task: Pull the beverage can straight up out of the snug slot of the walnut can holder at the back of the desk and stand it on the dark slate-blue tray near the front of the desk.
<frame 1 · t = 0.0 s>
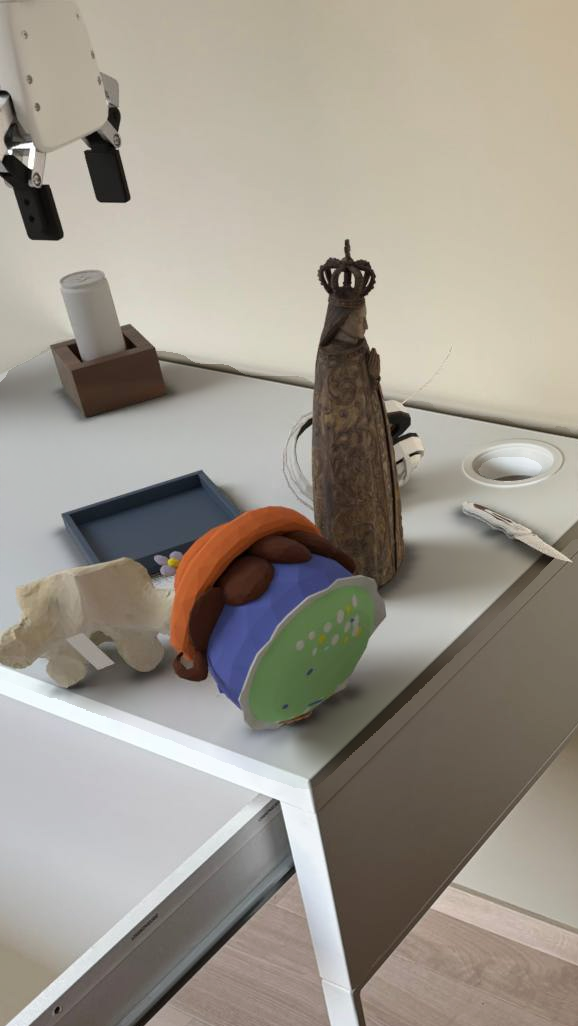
hand: (81, 219, 99), 22 cm above the table, tool pointing down, fingers open, 9 cm apart
can holder: (114, 392, 129), on the table
pocket knife: (504, 534, 97), point 1 cm above the table
beverage can: (115, 394, 129), resting in can holder
statue: (368, 572, 96), on the table, touching toy
headphones: (389, 482, 108), on the table
toy: (335, 669, 77), point 5 cm above the table, touching statue
tray: (158, 535, 104), on the table
decorative object: (44, 560, 87), point 8 cm above the table
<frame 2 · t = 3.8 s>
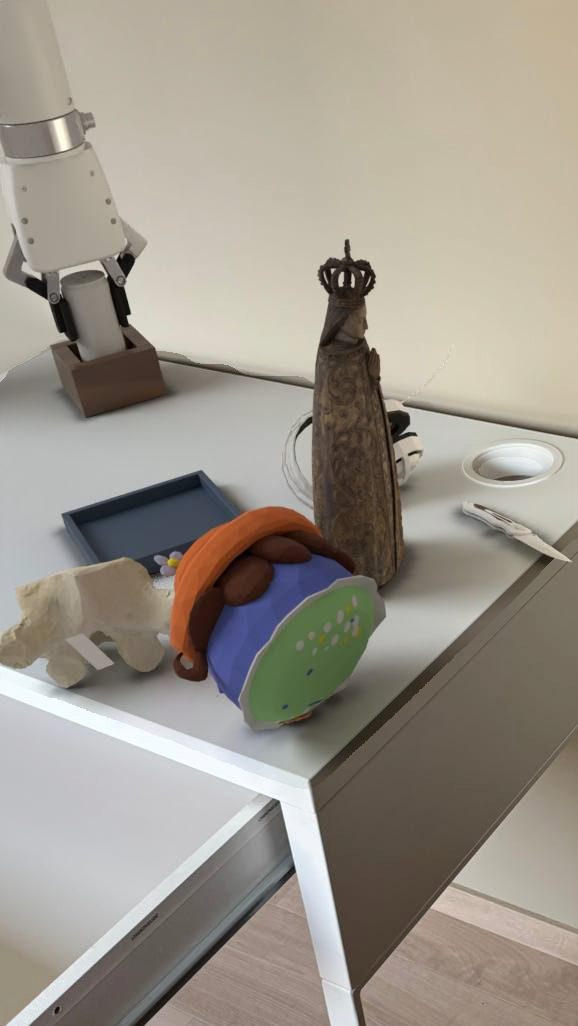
hand: (96, 329, 125), 7 cm above the table, tool pointing down, fingers closed on beverage can, 4 cm apart
beverage can: (115, 394, 129), resting in can holder, touching gripper
everything else where it was.
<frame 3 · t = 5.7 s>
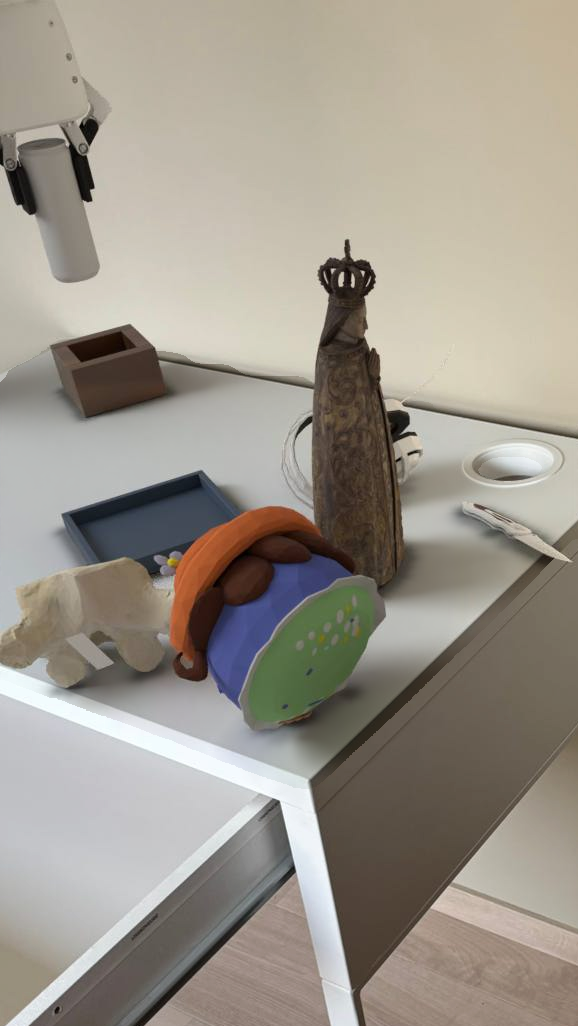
hand: (57, 203, 116), 19 cm above the table, tool pointing down, fingers closed on beverage can, 4 cm apart
beverage can: (78, 278, 121), point 12 cm above the table, touching gripper
everything else where it was.
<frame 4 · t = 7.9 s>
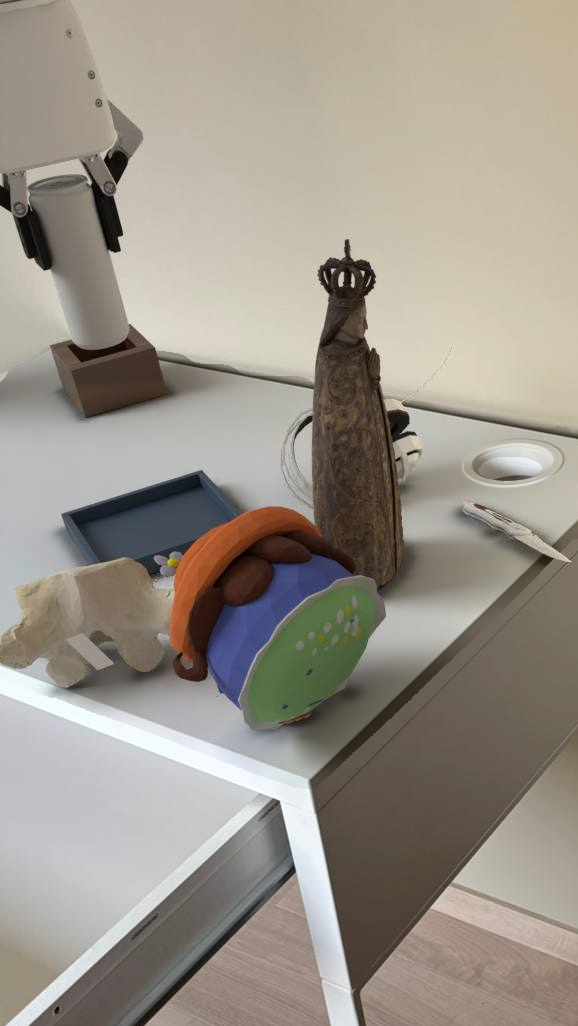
hand: (77, 254, 94), 22 cm above the table, tool pointing down, fingers closed on beverage can, 4 cm apart
beverage can: (103, 342, 99), point 15 cm above the table, touching gripper
everything else where it was.
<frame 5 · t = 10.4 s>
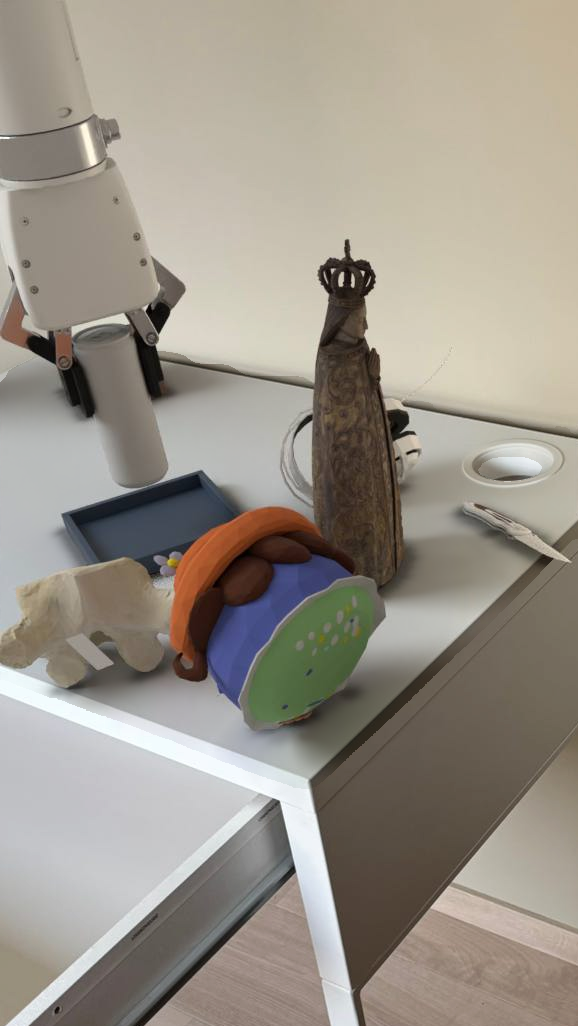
hand: (119, 399, 96), 12 cm above the table, tool pointing down, fingers closed on beverage can, 4 cm apart
beverage can: (142, 479, 101), point 5 cm above the table, touching gripper
everything else where it was.
when the fingers open (7 cm above the table, at t = 12.0 s): beverage can stays where it is, resting on tray.
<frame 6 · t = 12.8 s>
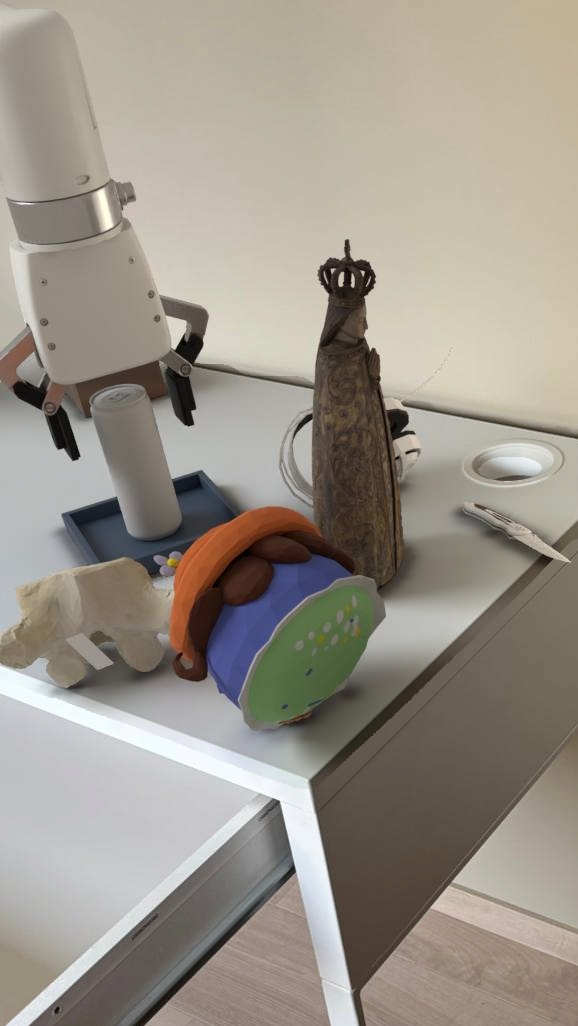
hand: (129, 437, 98), 9 cm above the table, tool pointing down, fingers open, 9 cm apart
beverage can: (156, 531, 104), resting on tray
everything else where it was.
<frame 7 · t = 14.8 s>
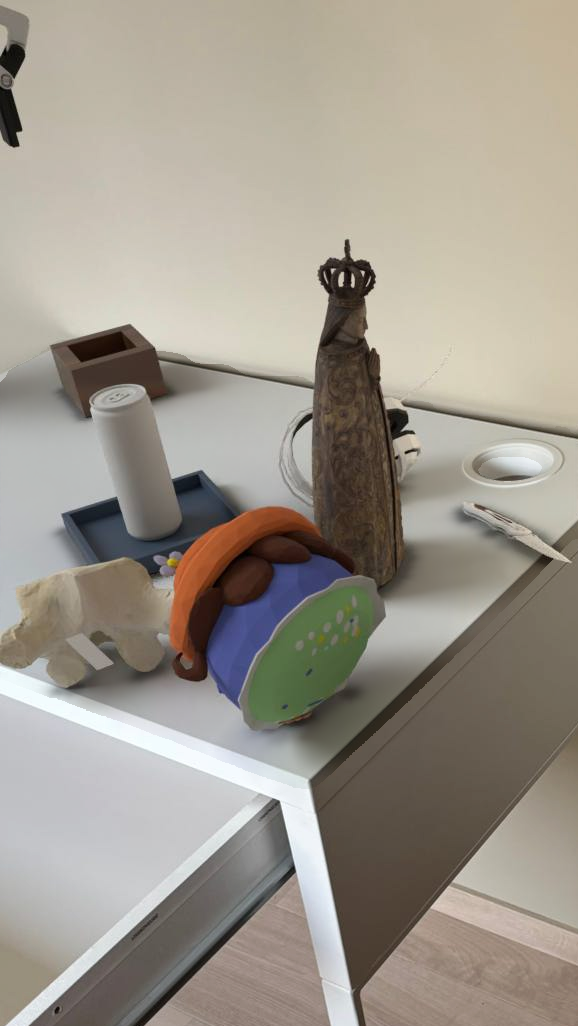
nothing on the table moved.
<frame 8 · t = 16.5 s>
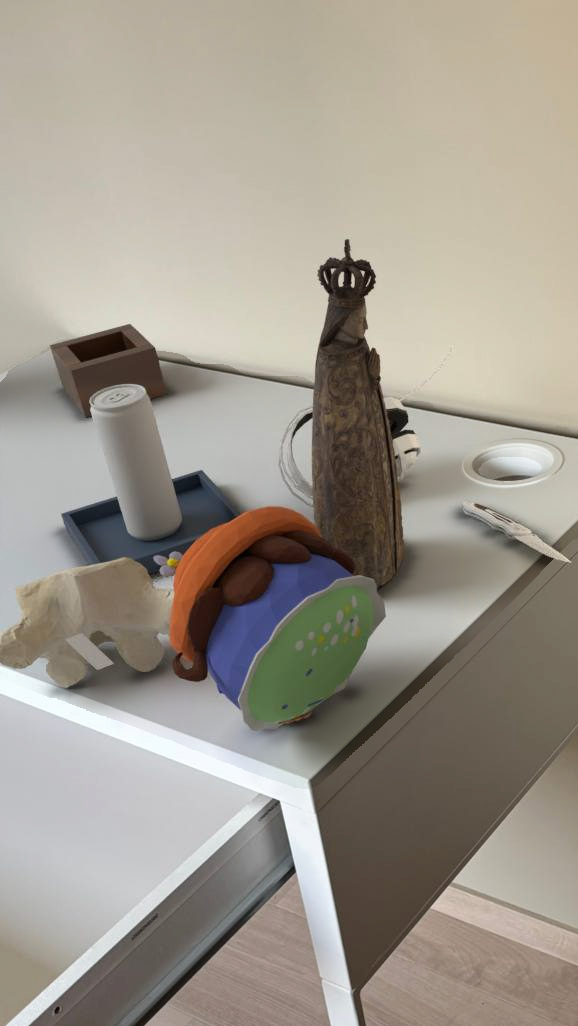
nothing on the table moved.
at the end: beverage can inside the target area in the tray (0.1 cm from its centre), point 0.3 cm above the tray's base; beverage can tilted 0°; the gripper is holding nothing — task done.
